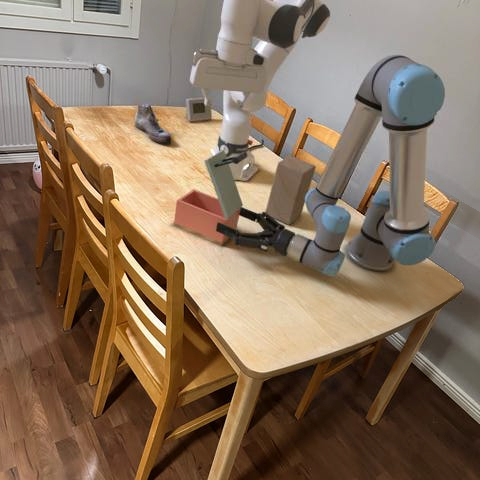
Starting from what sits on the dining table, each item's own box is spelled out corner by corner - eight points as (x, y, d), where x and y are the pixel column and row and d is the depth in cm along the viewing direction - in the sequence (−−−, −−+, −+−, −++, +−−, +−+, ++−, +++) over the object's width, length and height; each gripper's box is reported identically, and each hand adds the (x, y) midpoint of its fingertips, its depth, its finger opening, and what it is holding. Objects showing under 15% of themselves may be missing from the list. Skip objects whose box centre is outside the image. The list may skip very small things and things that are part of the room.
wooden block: (289, 225, 152) (304, 173, 141) (264, 214, 155) (277, 162, 145) (301, 216, 159) (316, 165, 149) (277, 205, 163) (290, 155, 152)
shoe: (175, 145, 192) (178, 118, 185) (151, 146, 186) (153, 118, 180) (154, 124, 209) (157, 98, 202) (132, 124, 203) (133, 97, 197)
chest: (173, 225, 138) (176, 200, 133) (190, 213, 146) (193, 188, 142) (221, 245, 134) (226, 220, 129) (235, 231, 142) (241, 207, 137)
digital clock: (187, 122, 220) (190, 101, 214) (179, 116, 226) (181, 95, 220) (214, 122, 229) (218, 101, 223) (206, 115, 235) (209, 95, 229)
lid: (204, 160, 123) (232, 152, 119) (220, 150, 132) (247, 143, 127) (225, 218, 129) (252, 213, 124) (239, 206, 137) (266, 200, 132)
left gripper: (198, 50, 105) (190, 107, 113) (273, 60, 114) (261, 112, 121) (190, 44, 110) (183, 99, 117) (263, 54, 119) (252, 105, 126)
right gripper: (271, 275, 120) (205, 245, 127) (301, 238, 140) (243, 213, 146) (278, 253, 116) (209, 223, 123) (308, 218, 136) (247, 193, 142)
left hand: (223, 106), depth 119 cm, fingers open, 8 cm apart
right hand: (227, 217), depth 135 cm, fingers open, 13 cm apart
